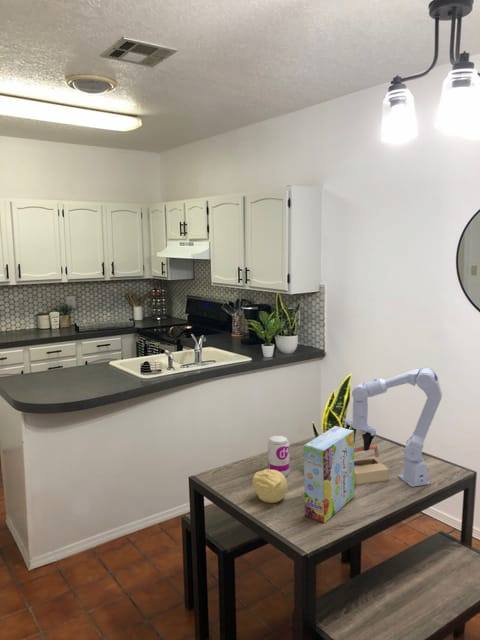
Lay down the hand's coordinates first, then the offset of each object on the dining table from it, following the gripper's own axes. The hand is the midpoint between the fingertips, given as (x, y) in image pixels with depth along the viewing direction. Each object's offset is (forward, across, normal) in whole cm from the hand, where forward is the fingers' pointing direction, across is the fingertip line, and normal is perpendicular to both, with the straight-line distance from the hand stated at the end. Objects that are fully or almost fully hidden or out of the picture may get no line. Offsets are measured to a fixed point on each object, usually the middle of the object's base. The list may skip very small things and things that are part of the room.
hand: (359, 447), depth 204 cm
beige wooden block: (+5, -2, 0) cm, 5 cm away
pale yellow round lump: (+10, +4, +42) cm, 43 cm away
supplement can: (+10, +17, +28) cm, 34 cm away
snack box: (+10, -12, +29) cm, 34 cm away
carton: (+10, -5, +2) cm, 11 cm away
